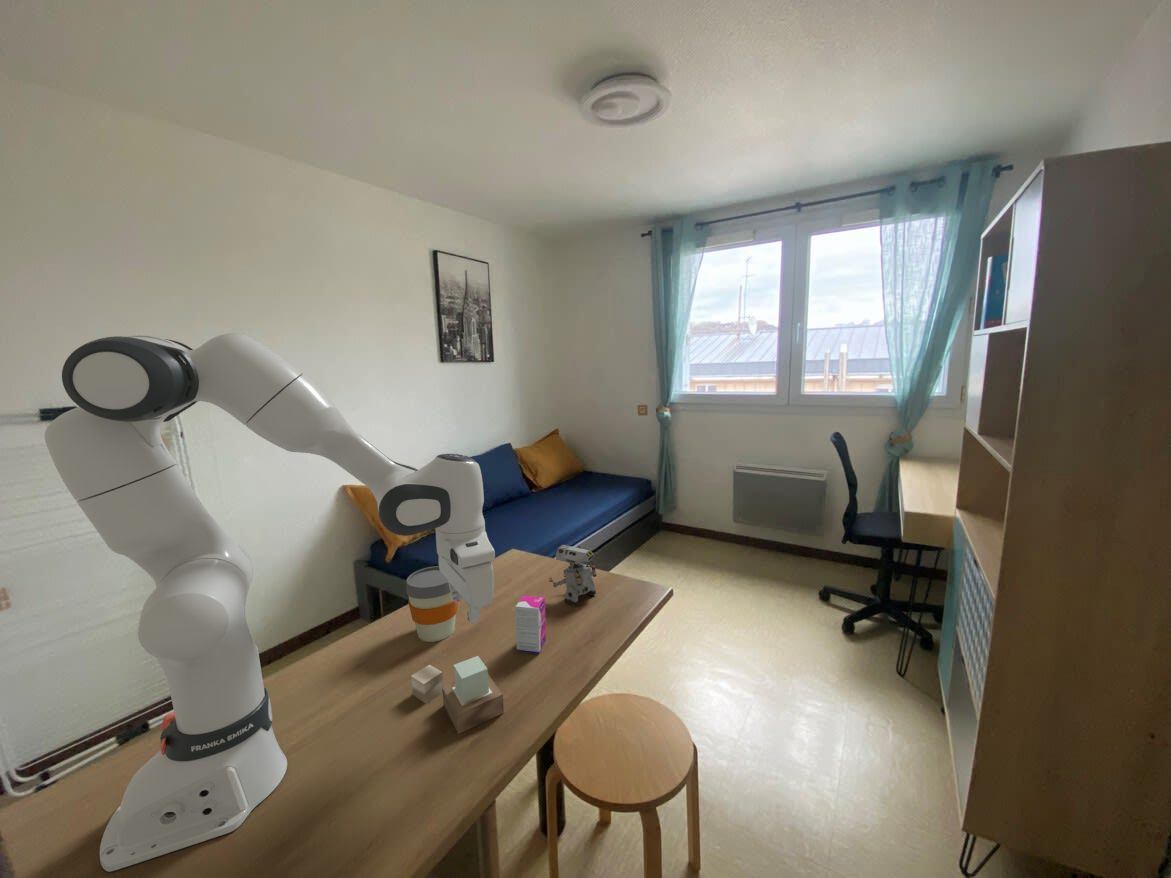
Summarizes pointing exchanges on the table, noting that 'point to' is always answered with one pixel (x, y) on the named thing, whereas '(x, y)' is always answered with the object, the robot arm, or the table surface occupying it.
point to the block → (427, 683)
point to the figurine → (576, 573)
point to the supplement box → (530, 624)
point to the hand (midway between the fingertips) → (464, 610)
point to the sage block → (471, 678)
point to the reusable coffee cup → (431, 604)
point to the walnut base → (472, 706)
